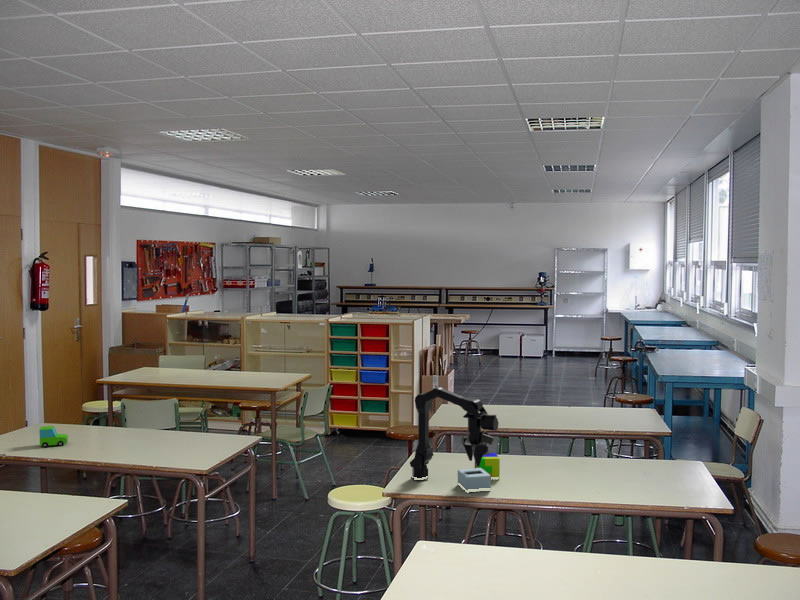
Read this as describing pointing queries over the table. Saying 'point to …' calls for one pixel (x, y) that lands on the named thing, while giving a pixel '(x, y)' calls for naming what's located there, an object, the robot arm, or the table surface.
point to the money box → (474, 478)
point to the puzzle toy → (490, 464)
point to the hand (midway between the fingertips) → (474, 463)
